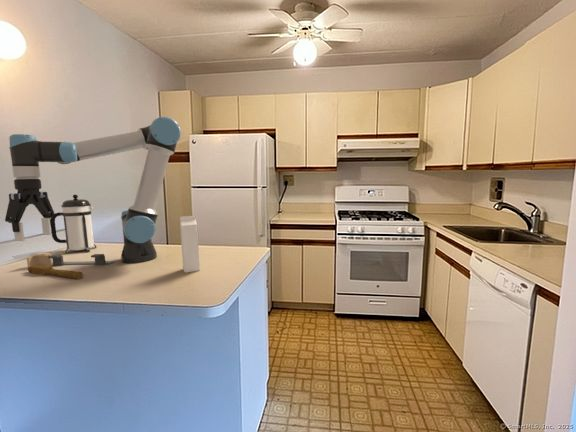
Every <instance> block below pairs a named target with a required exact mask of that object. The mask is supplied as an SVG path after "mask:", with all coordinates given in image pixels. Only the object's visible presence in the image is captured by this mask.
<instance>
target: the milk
mask: <svg viewBox="0 0 576 432" xmlns="http://www.w3.org/2000/svg"><path fill="white" fill-rule="evenodd" d="M196 217H197V216H196V215H187V216H186V215H183V216H180V217H179V228H180V242H181V244H180V245H181V258H182V269H183V273H193V272H198V271H201V269H200V267H201V266H200V252H199V250H200V249H199V235H198V233H199V231H198V223H197V219H196Z"/></svg>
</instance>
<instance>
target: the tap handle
mask: <svg viewBox="0 0 576 432" xmlns="http://www.w3.org/2000/svg"><path fill="white" fill-rule="evenodd" d="M27 271H28V272H29V273H31V274H33V275H37V276H38V275H39V276H57V277H63V278H67V279H74V280H81V279H82V278H83V276H84V274H83V272H81V271H75V270H67V269H66V270H65V269H55V268H53V267H52V266H44V265H37V266H29V267H28V266H27Z"/></svg>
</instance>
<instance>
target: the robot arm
mask: <svg viewBox="0 0 576 432" xmlns="http://www.w3.org/2000/svg"><path fill="white" fill-rule="evenodd" d="M181 136H182V130H181V127H180V125H179V123H178V122H177V121H176V120H175V119H173V118H172V117H168V116H160V117H157V118H155V119H154V120H153V121H152V122H151V124H150V125H148V126H145V127H140V128H138V129H137V131H131V132H127V133H120V134H114V135H109V136H104V137H98V138H97V137H96V138H93V139H92V138H91V139H88V140H87V139H86V140H81V141H75V142H70V141H69V142H67V141H41V140H40V141H39V140H37V137H36V136H35V135H32V134H24V133H23V134H22V133H21V134H20V133H15V134H10V136H9V138H8V139H9V147H8V149H9V152H10V160H11V166H12V174H13V178H15V179H14V180H13V185H14V189H15V190H17V193H9V194H8V200H9V201H8V205H7V208H6V212H5V214H6V215H5V218H4V221H5V222H7V223H9V224H11V228H12V229H11V230H12V232H13V235H14V241H15V242H24V241H25V234H24V225H23V222H22V221H21V220H22V218H23V216H24V213H25V212H26V209H27V207H29V205H32V206H34V207H35V208H36V209H37V211H38V212H39V214H40V215H41V216H42V218H41V228H42V235H43V236H52V232H51V218H52V217H53V215H55V211H54V209H53V207H52V205H51V201H50V200H49V196H48V192H47V191H40V189H42V181H41V179H40V178H41V170H40V165H39V163H58V164H60V165H69V164H71V163H76V162H80V161H84V160H89V159H94V158H99V157H105V156H110V155H114V154H119V153H123V152H124V153H125V152H129V151H135V150H139V149H143V150H148V151H147V155H146V157H145V161H144V165H143V169H142V172H141V176H140V181H139V184H138V188H137V191H136V195H135V199H134V202H133V204H132V205H131V206H129V207H128V209H127V210H123V211H122V212H121V215H120V216H121V217H120V218H121V225H122V235H123V237H122V238H123V247H122V251H121V255H120V259H121V262H123V263H125V264H126V263H127V264H128V263H129V264H130V263H131V264H132V263H133V264H134V263H143V262H147V261H152V260H154V259H156V258H157V257H158V255H157V252H158V251H157V250H156V247H155V246H154V243H153V241H152V240H153V239H152V238H153V237H154V236H155V233H156V223H157V219H158V215H159V214H158V211H157V210H156V209H157V205H158V201H159V197H160V193H161V190H162V185H163V182H164V178H165V176H166V175H165V174H166V171H167V167H168V164H169V159H170V156H172V155H174V154H175V152H176V148H177V144H178V142H179V141H180V139H181Z"/></svg>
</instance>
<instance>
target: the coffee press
mask: <svg viewBox="0 0 576 432" xmlns="http://www.w3.org/2000/svg"><path fill="white" fill-rule="evenodd" d="M72 198H73V199H67V200H64V201H63V202H62V204H61V209H62V212H61V211H60V212H56V213H55V212H54V213H55V215H53V217H52V218H50V220H51V236H52V239H53V241H54V242H55V243H59V244H66V249H65V251H64V253H65V254H67V255H69V254H70V253H71V252H73V251H82V250H83V251H85V253H90V251H91V248H93V249H96V248H97V245H96V244H95V241H94V240H95V239H94V230H93V220H92V210H94V207H93V205H91V203H90V201H89V200H88V199H82V198H81V199H80V198H79V195H77V194H73V195H72ZM60 216H62V217H63V225H64V233H65V239H60V238H59V237H58V236H57V228H56V218H57V217H60ZM68 250H69V251H68Z"/></svg>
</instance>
